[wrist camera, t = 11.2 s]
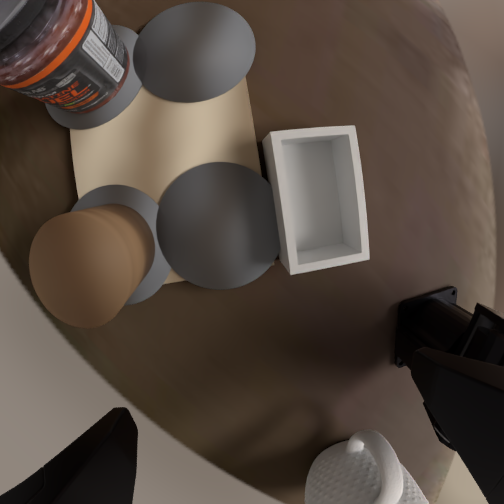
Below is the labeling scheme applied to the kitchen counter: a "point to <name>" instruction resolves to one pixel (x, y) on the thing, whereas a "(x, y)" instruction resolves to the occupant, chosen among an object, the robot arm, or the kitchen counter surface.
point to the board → (162, 175)
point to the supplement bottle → (61, 53)
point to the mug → (361, 474)
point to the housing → (317, 197)
